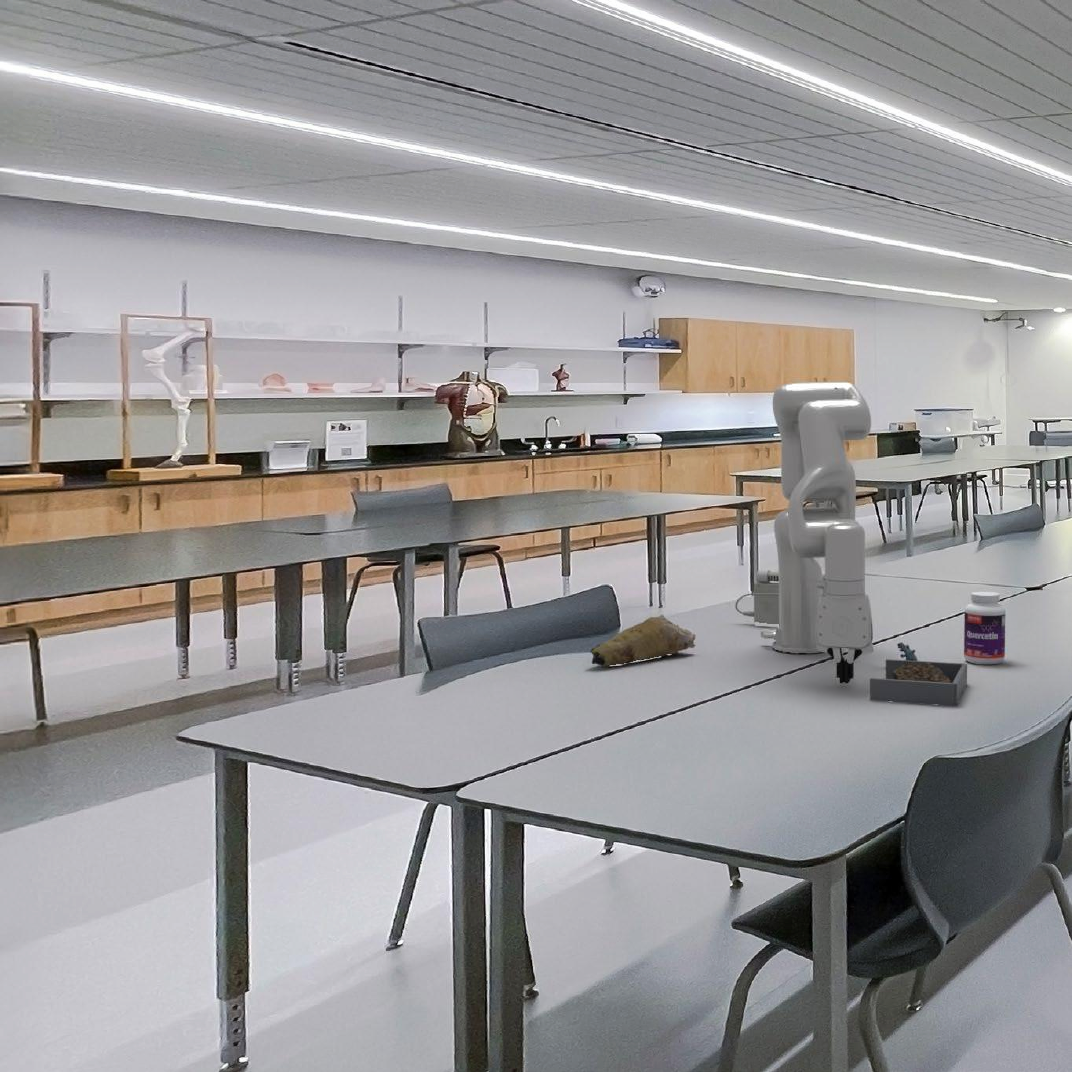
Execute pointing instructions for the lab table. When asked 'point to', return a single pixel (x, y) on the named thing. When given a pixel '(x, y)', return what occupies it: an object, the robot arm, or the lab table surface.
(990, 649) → the pill bottle
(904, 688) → the tray
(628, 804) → the lab table surface
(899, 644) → the sculpture
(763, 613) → the geiger counter
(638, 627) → the mineral
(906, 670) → the concrete sample
